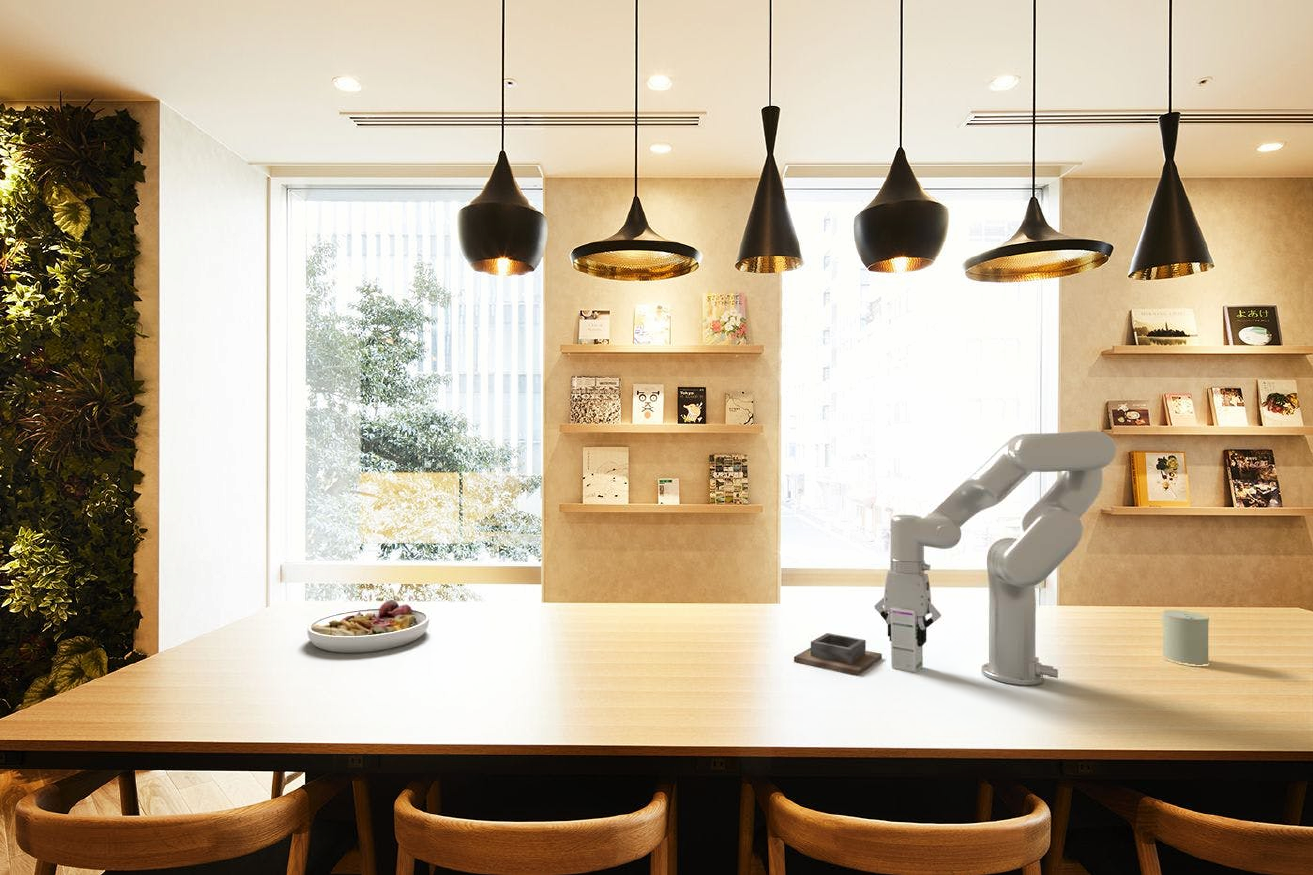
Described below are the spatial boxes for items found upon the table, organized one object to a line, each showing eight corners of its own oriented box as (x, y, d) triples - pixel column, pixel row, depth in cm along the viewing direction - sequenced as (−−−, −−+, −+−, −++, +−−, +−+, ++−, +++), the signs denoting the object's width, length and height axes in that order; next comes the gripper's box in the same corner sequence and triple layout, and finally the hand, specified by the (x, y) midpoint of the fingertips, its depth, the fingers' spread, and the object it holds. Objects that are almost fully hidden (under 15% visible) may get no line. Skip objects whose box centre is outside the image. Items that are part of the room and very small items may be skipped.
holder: (881, 658, 167) (881, 639, 167) (858, 675, 154) (858, 655, 154) (821, 646, 176) (821, 628, 176) (794, 661, 164) (794, 642, 164)
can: (1166, 663, 165) (1166, 614, 165) (1158, 653, 173) (1158, 606, 173) (1213, 669, 161) (1213, 619, 161) (1203, 658, 169) (1203, 611, 169)
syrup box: (915, 673, 156) (916, 610, 156) (890, 668, 160) (890, 606, 160) (922, 667, 161) (923, 606, 161) (897, 662, 164) (898, 602, 164)
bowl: (403, 657, 165) (404, 625, 165) (283, 656, 166) (283, 624, 166) (444, 625, 195) (444, 598, 195) (341, 624, 196) (342, 597, 196)
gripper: (949, 569, 158) (949, 645, 158) (876, 560, 169) (876, 632, 168) (940, 573, 152) (940, 653, 152) (865, 565, 163) (865, 639, 162)
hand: (906, 641), depth 160 cm, fingers closed on syrup box, 5 cm apart
